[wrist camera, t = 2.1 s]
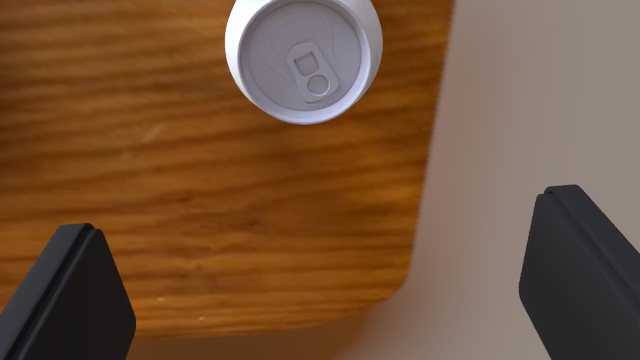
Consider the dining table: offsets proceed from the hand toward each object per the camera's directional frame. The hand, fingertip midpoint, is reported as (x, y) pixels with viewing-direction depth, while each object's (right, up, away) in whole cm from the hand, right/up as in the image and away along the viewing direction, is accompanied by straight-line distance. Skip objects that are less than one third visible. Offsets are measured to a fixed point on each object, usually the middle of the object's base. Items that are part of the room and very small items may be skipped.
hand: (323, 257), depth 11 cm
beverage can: (-1, +13, +20) cm, 24 cm away
